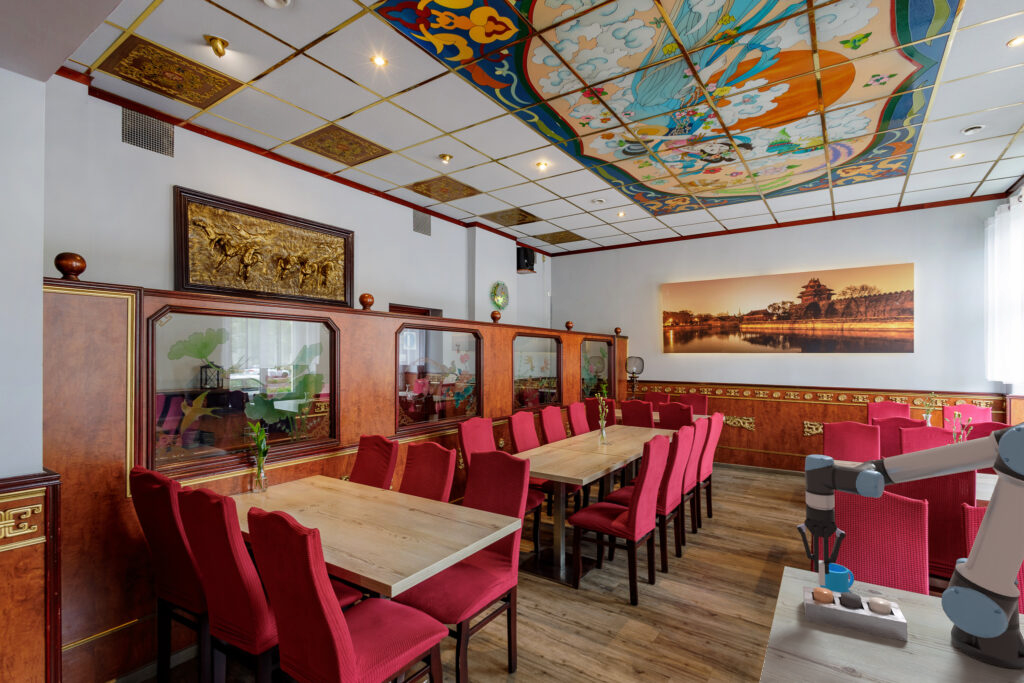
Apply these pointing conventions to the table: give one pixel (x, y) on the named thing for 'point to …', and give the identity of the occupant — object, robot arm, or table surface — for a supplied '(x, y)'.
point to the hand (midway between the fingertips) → (821, 583)
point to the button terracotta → (823, 595)
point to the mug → (838, 579)
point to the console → (855, 616)
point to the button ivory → (879, 605)
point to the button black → (850, 600)
